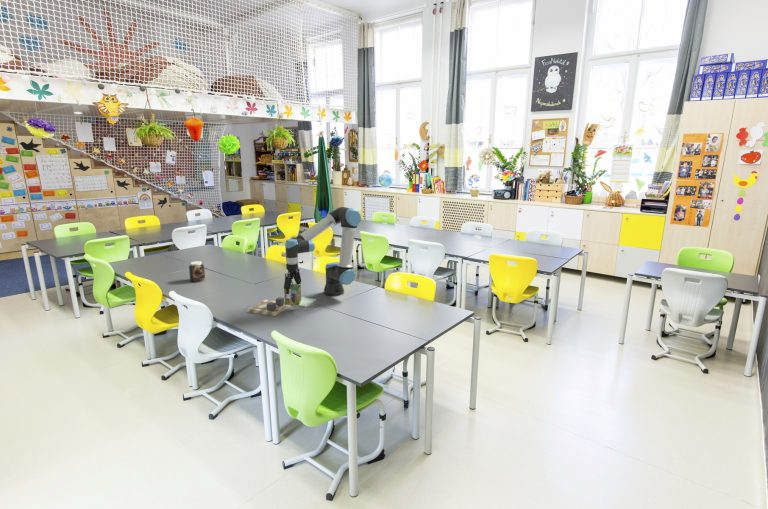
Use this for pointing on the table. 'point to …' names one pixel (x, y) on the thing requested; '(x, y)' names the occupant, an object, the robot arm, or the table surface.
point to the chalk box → (293, 295)
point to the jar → (197, 271)
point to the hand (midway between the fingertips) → (293, 295)
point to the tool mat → (305, 302)
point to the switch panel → (262, 308)
